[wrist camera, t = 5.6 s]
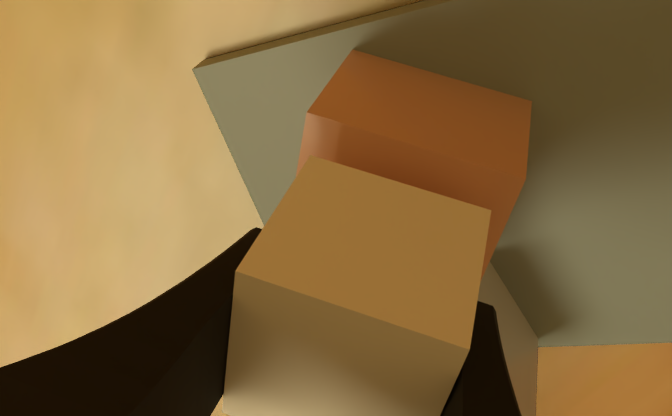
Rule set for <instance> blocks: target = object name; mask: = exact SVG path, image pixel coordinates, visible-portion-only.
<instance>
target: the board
mask: <svg viewBox="0 0 672 416" xmlns="http://www.w3.org/2000/svg"><path fill="white" fill-rule="evenodd" d="M352 49H353V50H357V51H360V52H364V53H367V54H370V55H374V56H377V57H381V58H384V59H388V60H391V61H395V62H398V63H402V64H405V65H409V66H412V67H415V68H419V69H422V70H426V71H429V72H433V73H436V74H440V75H443V76H447V77H450V78H454V79H457V80H460V81H464V82H467V83H471V84H474V85H478V86H481V87H485V88H488V89H492V90H495V91H499V92H502V93H505V94H509V95H512V96H516V97H519V98H523V99H526V100H530V101H532V107H531V120H530V133H529V146H528V159H527V172H526V180H525V182H524V185H523V187H522V189H521V191H520V194H519V196H518V198H517V200H516V203H515V205H514V207H513V209H512V212H511V214H510V216H509V219H508V221H507V223H506V225H505V228H504V230H503V232H502V234H501V237H500V239H499V241H498V243H497V246H496V248H495V250H494V253H493V255H492V257H491V259H490V263H491V264H492V266H493V267H494V269H495V271H496V272H497V274H498V275H499V277H500V278H501V280H502V282H503V283H504V285H505V286H506V288H507V290H508V291H509V293H510V294H511V296H512V298H513V299H514V301H515V302H516V304H517V306H518V307H519V309H520V310H521V312H522V314H523V315H524V317H525V318H526V320H527V321H528V323H529V325H530V326H531V328H532V329H533V331H534V333H535V334H536V336H537V337H538V347H558V346H587V345H615V344H644V343H672V0H424V1H420V2H416V3H413V4H409V5H405V6H401V7H398V8H394V9H390V10H387V11H383V12H379V13H375V14H372V15H368V16H364V17H361V18H357V19H353V20H349V21H346V22H342V23H338V24H335V25H331V26H327V27H323V28H320V29H316V30H312V31H309V32H305V33H301V34H297V35H294V36H290V37H286V38H283V39H279V40H275V41H271V42H268V43H264V44H260V45H257V46H253V47H249V48H245V49H242V50H238V51H234V52H231V53H227V54H223V55H219V56H216V57H212V58H208V59H205V60H203V61H202V62H200V63H199V64H198V65H197V66H196V67H194V68H193V69H192V70H193V72H194V74H195V77H196V79H197V81H198V83H199V85H200V87H201V90H202V92H203V94H204V96H205V98H206V100H207V103H208V105H209V107H210V109H211V111H212V113H213V116H214V118H215V120H216V122H217V124H218V126H219V129H220V131H221V133H222V135H223V137H224V139H225V142H226V144H227V146H228V148H229V150H230V152H231V155H232V157H233V159H234V161H235V163H236V165H237V168H238V170H239V172H240V174H241V176H242V178H243V181H244V183H245V185H246V187H247V189H248V191H249V194H250V196H251V198H252V200H253V202H254V205H255V207H256V209H257V211H258V213H259V215H260V218H261V220H262V222H263V224H264V226H265V224H266V223H267V221H268V220H269V218H270V217H271V215H272V214H273V212H274V210H275V209H276V207H277V206H278V204H279V203H280V201H281V200H282V198H283V197H284V195H285V194H286V192H287V190H288V189H289V187H290V186H291V184H292V183H293V181H294V180H295V178H296V172H297V166H298V160H299V154H300V148H301V142H302V136H303V130H304V124H305V118H306V112H307V111H308V110H309V108H310V107H311V105H312V104H313V103H314V101H315V100H316V99H317V97H318V96H319V94H320V93H321V92H322V90H323V89H324V88H325V86H326V85H327V83H328V82H329V81H330V79H331V78H332V77H333V75H334V74H335V72H336V71H337V70H338V68H339V67H340V66H341V64H342V63H343V61H344V60H345V59H346V57H347V56H348V55H349V53H350V52H351V51H352Z"/></svg>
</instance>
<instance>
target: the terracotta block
mask: <svg viewBox="0 0 672 416" xmlns="http://www.w3.org/2000/svg"><path fill="white" fill-rule="evenodd" d="M531 107H532V101H530V100H526V99H523V98H519V97H516V96H512V95H509V94H505V93H502V92H499V91H495V90H492V89H488V88H485V87H481V86H478V85H474V84H471V83H467V82H464V81H460V80H457V79H454V78H450V77H447V76H443V75H440V74H436V73H433V72H429V71H426V70H422V69H419V68H415V67H412V66H409V65H405V64H402V63H398V62H395V61H391V60H388V59H384V58H381V57H377V56H374V55H370V54H367V53H364V52H360V51H357V50H353V49H352V51H351V52H350V53H349V55H348V56H347V57H346V59H345V60H344V61H343V63H342V64H341V66H340V67H339V68H338V70H337V71H336V72H335V74H334V75H333V77H332V78H331V79H330V81H329V82H328V83H327V85H326V86H325V88H324V89H323V90H322V92H321V93H320V94H319V96H318V97H317V99H316V100H315V101H314V103H313V104H312V105H311V107H310V108H309V110H308V111H307V112H306V118H305V124H304V130H303V136H302V142H301V148H300V154H299V160H298V166H297V172H296V177H297V175H298V173H299V172H300V170H301V169H302V167H303V166H304V164H305V163H306V161H307V160H308V158H309V156H310V155H312V156H315V157H319V158H322V159H325V160H328V161H332V162H335V163H338V164H341V165H345V166H348V167H351V168H355V169H358V170H361V171H364V172H368V173H371V174H374V175H378V176H381V177H384V178H387V179H391V180H394V181H397V182H400V183H404V184H407V185H410V186H414V187H417V188H420V189H423V190H427V191H430V192H433V193H436V194H440V195H443V196H446V197H450V198H453V199H456V200H459V201H463V202H466V203H469V204H473V205H476V206H479V207H482V208H486V209H489V210H491V216H490V223H489V229H488V236H487V242H486V248H485V255H484V261H483V268H482V274H481V280H482V277H483V275H484V273H485V271H486V268H487V266H488V264H489V262H490V259H491V257H492V255H493V253H494V250H495V248H496V246H497V243H498V241H499V239H500V237H501V234H502V232H503V230H504V228H505V225H506V223H507V221H508V219H509V216H510V214H511V212H512V209H513V207H514V205H515V203H516V200H517V198H518V196H519V194H520V191H521V189H522V187H523V185H524V182H525V180H526V172H527V159H528V146H529V133H530V120H531ZM480 282H481V281H480Z"/></svg>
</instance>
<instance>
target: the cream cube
mask: <svg viewBox="0 0 672 416" xmlns="http://www.w3.org/2000/svg"><path fill="white" fill-rule="evenodd" d="M490 216H491V210H489V209H486V208H482V207H479V206H476V205H473V204H469V203H466V202H463V201H459V200H456V199H453V198H450V197H446V196H443V195H440V194H436V193H433V192H430V191H427V190H423V189H420V188H417V187H414V186H410V185H407V184H404V183H400V182H397V181H394V180H391V179H387V178H384V177H381V176H378V175H374V174H371V173H368V172H364V171H361V170H358V169H355V168H351V167H348V166H345V165H341V164H338V163H335V162H332V161H328V160H325V159H322V158H319V157H315V156H312V155H310V156H309V158H308V160H307V161H306V163H305V164H304V166H303V167H302V169H301V170H300V172H299V173H298V175H297V177H296V178H295V180H294V181H293V183H292V184H291V186H290V187H289V189H288V190H287V192H286V194H285V195H284V197H283V198H282V200H281V201H280V203H279V204H278V206H277V207H276V209H275V210H274V212H273V214H272V215H271V217H270V218H269V220H268V221H267V223H266V224H265V226H264V227H263V229H262V231H261V232H260V234H259V235H258V237H257V238H256V240H255V241H254V243H253V244H252V246H251V248H250V249H249V251H248V252H247V254H246V255H245V257H244V258H243V260H242V261H241V263H240V265H239V266H238V268H237V269H236V271H235V279H234V290H233V301H232V311H231V322H230V332H229V343H228V353H227V364H226V375H225V385H224V396H223V406H222V413H225V414H228V415H230V416H440V415H441V412H442V410H443V408H444V406H445V404H446V401H447V399H448V397H449V395H450V392H451V390H452V388H453V386H454V384H455V381H456V379H457V377H458V375H459V372H460V370H461V368H462V366H463V364H464V361H465V359H466V357H467V355H468V353H469V350H470V345H471V339H472V332H473V326H474V319H475V313H476V306H477V300H478V293H479V287H480V281H481V274H482V268H483V261H484V255H485V248H486V242H487V236H488V229H489V223H490Z"/></svg>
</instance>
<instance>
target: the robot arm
mask: <svg viewBox="0 0 672 416" xmlns="http://www.w3.org/2000/svg"><path fill="white" fill-rule="evenodd" d="M261 231H262V229H260V228H257V227H256V228H254V229H252V230H250V231H249V232H248V233H247V234H245V235H244V236H243V237H242V238H240V239H239V240H238V241H237V242H235V243H234V244H233V245H232V246H230V247H229V248H228V249H227V250H225V251H224V252H223V253H221V254H220V255H219V256H217V257H216V258H215V259H213V260H212V261H211V262H209V263H208V264H206V265H205V266H204V267H202V268H201V269H199V270H198V271H196V272H195V273H194V274H192V275H191V276H189V277H188V278H186V279H185V280H183V281H182V282H180V283H179V284H177V285H176V286H174V287H173V288H171V289H169V290H168V291H166V292H165V293H163V294H161V295H160V296H158V297H156V298H155V299H153V300H152V301H150V302H148V303H147V304H145V305H143V306H141V307H140V308H138V309H136V310H134V311H132V312H131V313H129V314H127V315H125V316H123V317H121V318H119V319H117V320H115V321H113V322H111V323H109V324H107V325H105V326H103V327H101V328H99V329H97V330H95V331H92V332H90V333H88V334H86V335H84V336H82V337H79V338H77V339H75V340H73V341H70V342H68V343H66V344H63V345H61V346H58V347H56V348H53V349H51V350H48V351H45V352H42V353H40V354H37V355H34V356H32V357H29V358H26V359H23V360H21V361H18V362H15V363H12V364H9V365H6V366H3V367H0V416H210V415H211V413H212V412H213V410H214V409H215V407H216V405H217V404H218V402H219V400H220V399H221V397H222V395H223V394H224V385H225V375H226V364H227V353H228V343H229V332H230V322H231V311H232V301H233V290H234V279H235V271H236V269H237V268H238V266H239V265H240V263H241V261H242V260H243V258H244V257H245V255H246V254H247V252H248V251H249V249H250V248H251V246H252V244H253V243H254V241H255V240H256V238H257V237H258V235H259V234H260V232H261ZM440 416H522V415H521V412H520V409H519V406H518V403H517V399H516V396H515V393H514V389H513V386H512V382H511V379H510V376H509V372H508V368H507V364H506V360H505V356H504V352H503V347H502V343H501V338H500V333H499V327H498V321H497V314H496V310H495V309H494V307H493V306H492V305H489V304H486V303H483V302H480V301H477V306H476V313H475V319H474V326H473V332H472V339H471V345H470V350H469V353H468V355H467V357H466V359H465V361H464V364H463V366H462V368H461V370H460V372H459V375H458V377H457V379H456V381H455V384H454V386H453V388H452V390H451V392H450V395H449V397H448V399H447V401H446V404H445V406H444V408H443V410H442V412H441V415H440Z"/></svg>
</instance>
